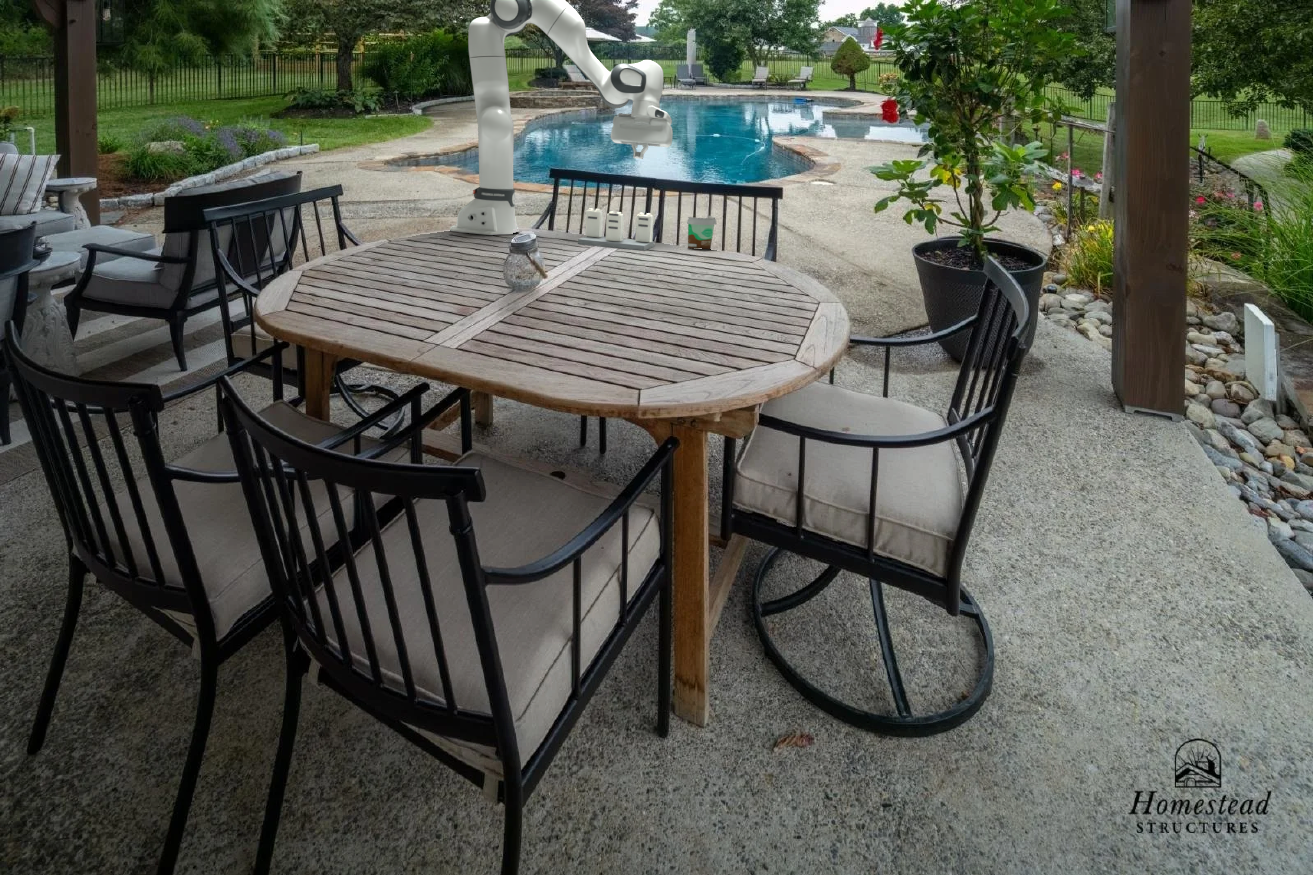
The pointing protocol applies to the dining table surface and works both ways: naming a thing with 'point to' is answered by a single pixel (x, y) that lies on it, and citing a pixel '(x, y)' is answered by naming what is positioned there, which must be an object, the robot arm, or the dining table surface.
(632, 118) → the robot arm
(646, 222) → the tile two
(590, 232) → the tile one
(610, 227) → the tile three
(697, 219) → the food container
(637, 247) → the tile board
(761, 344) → the dining table surface
